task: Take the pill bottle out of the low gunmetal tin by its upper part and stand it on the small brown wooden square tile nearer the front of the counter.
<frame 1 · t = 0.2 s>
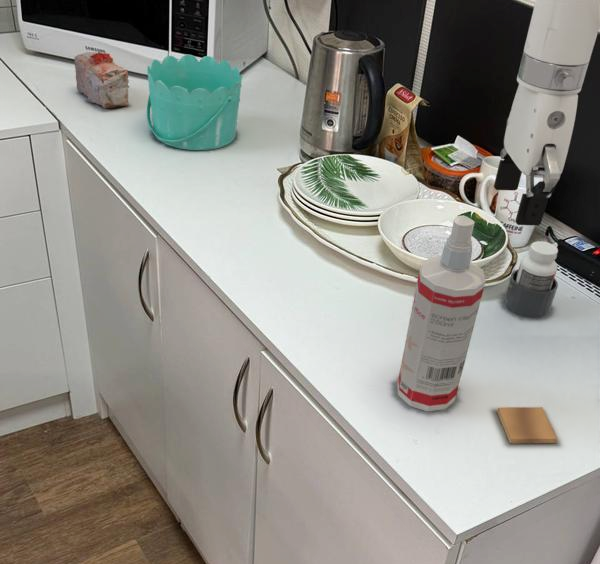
hand: (515, 206, 105), 20 cm above the worktop, tool pointing down, fingers open, 9 cm apart
tin: (526, 305, 124), on the worktop
spray bottle: (425, 393, 106), on the worktop
pill bottle: (526, 304, 124), resting on tin
basket: (194, 135, 165), on the worktop
food item: (103, 101, 176), on the worktop
brown wooden square tile: (525, 427, 102), on the worktop
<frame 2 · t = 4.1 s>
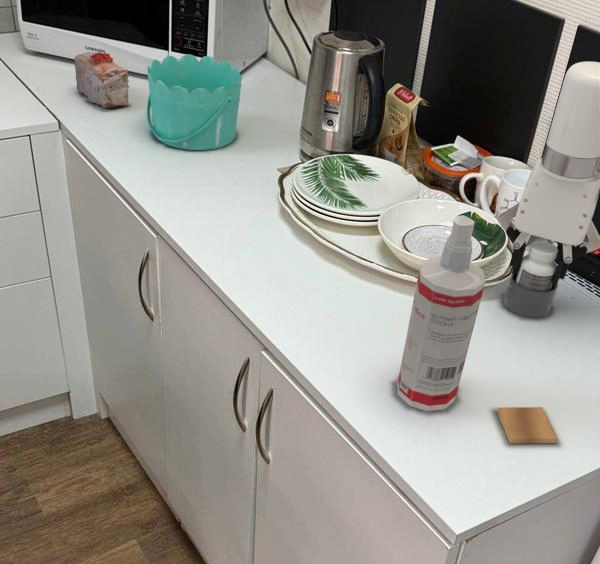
hand: (536, 274, 121), 5 cm above the worktop, tool pointing down, fingers closed on pill bottle, 5 cm apart
pill bottle: (526, 304, 124), resting on tin, touching gripper
everything else where it was.
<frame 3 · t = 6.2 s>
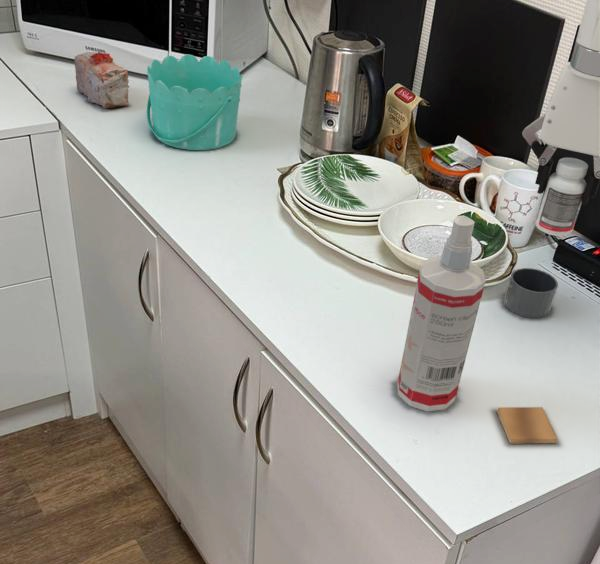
hand: (563, 194, 112), 19 cm above the worktop, tool pointing down, fingers closed on pill bottle, 5 cm apart
pill bottle: (552, 229, 115), point 13 cm above the worktop, touching gripper
everything else where it was.
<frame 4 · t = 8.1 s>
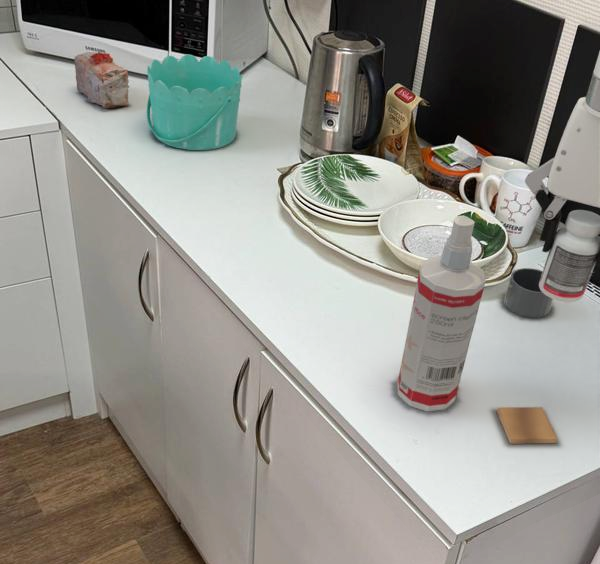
hand: (573, 253, 93), 22 cm above the worktop, tool pointing down, fingers closed on pill bottle, 5 cm apart
pill bottle: (559, 292, 96), point 16 cm above the worktop, touching gripper
everything else where it was.
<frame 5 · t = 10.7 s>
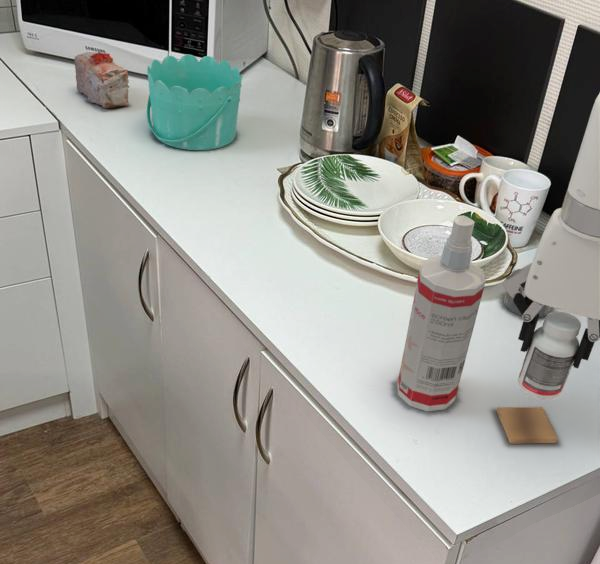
hand: (551, 352, 94), 12 cm above the worktop, tool pointing down, fingers closed on pill bottle, 5 cm apart
pill bottle: (538, 388, 98), point 6 cm above the worktop, touching gripper
everything else where it was.
when the fingers open (6 cm above the worktop, at t = 12.6 s): pill bottle stays where it is, resting on brown wooden square tile.
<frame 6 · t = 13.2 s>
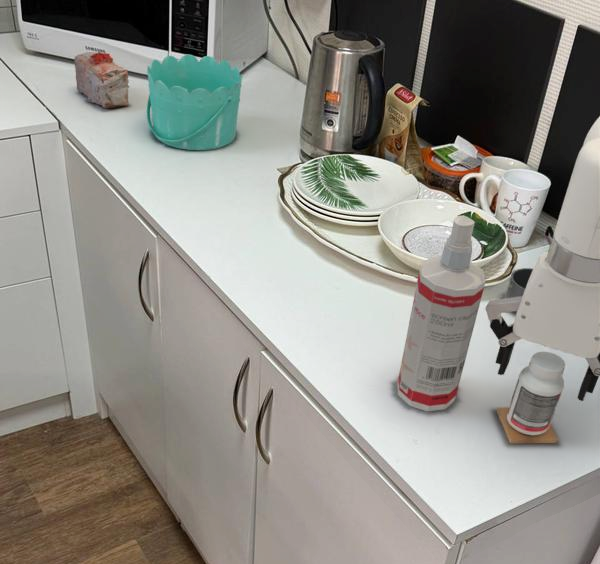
hand: (541, 381, 97), 8 cm above the worktop, tool pointing down, fingers open, 9 cm apart
pill bottle: (526, 423, 102), point 1 cm above the worktop, touching brown wooden square tile
everything else where it was.
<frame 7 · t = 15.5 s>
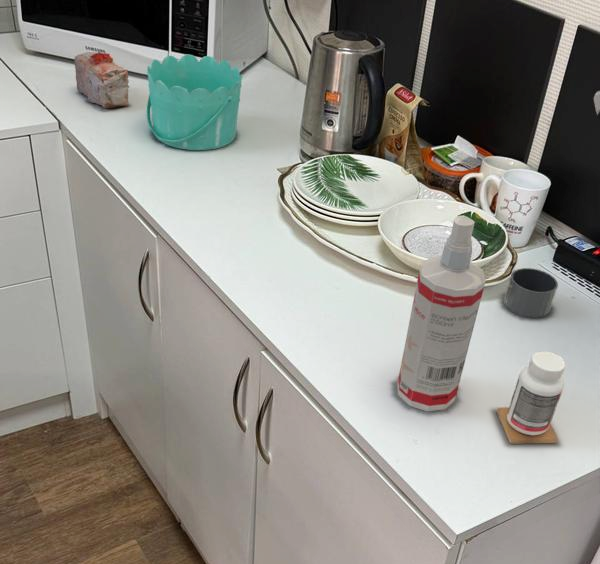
nothing on the worktop moved.
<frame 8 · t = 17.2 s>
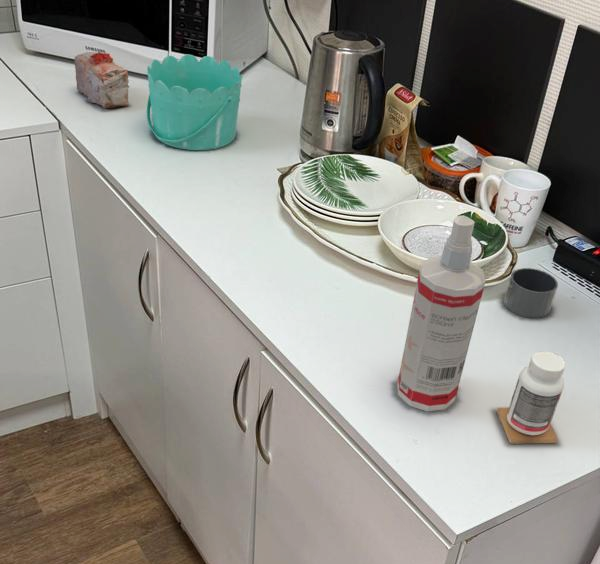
nothing on the worktop moved.
at the end: pill bottle 0.1 cm off-centre on the brown wooden square tile, point 0.6 cm above the brown wooden square tile's base; pill bottle tilted 0°; pill bottle touching brown wooden square tile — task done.
